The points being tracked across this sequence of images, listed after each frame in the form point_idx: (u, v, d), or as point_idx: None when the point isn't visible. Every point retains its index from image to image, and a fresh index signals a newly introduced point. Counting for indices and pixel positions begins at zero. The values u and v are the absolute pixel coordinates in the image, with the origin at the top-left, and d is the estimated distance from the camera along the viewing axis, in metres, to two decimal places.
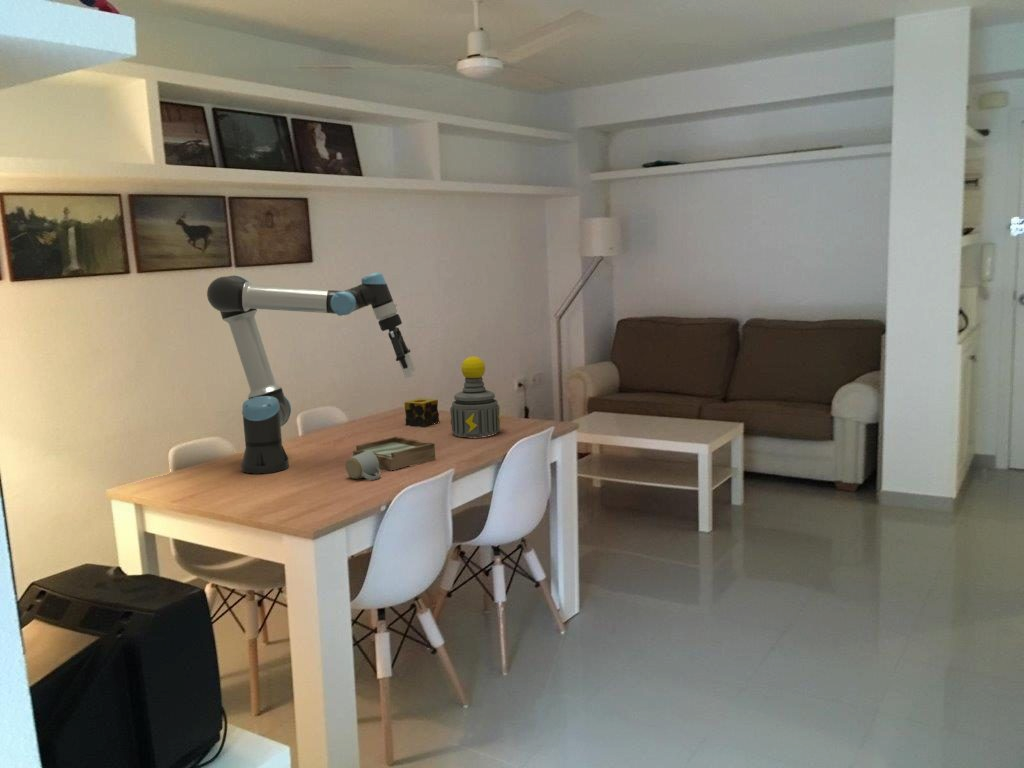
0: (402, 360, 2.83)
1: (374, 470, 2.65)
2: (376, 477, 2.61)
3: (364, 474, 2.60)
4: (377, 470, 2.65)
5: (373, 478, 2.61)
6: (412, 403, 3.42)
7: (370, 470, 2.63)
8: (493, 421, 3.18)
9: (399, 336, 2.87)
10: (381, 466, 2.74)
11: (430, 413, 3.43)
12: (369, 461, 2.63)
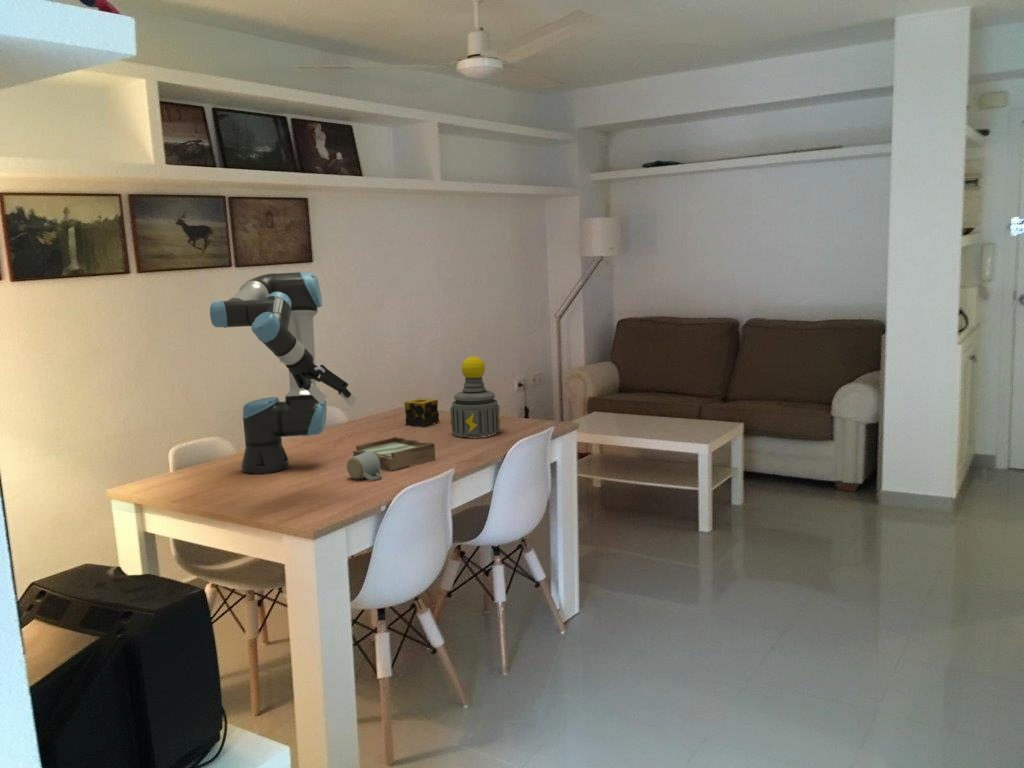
0: None
1: (375, 470, 2.64)
2: (377, 477, 2.61)
3: (366, 474, 2.60)
4: (378, 470, 2.64)
5: (375, 478, 2.60)
6: (412, 403, 3.42)
7: (371, 470, 2.63)
8: (493, 421, 3.18)
9: (301, 376, 2.47)
10: (381, 466, 2.74)
11: (430, 413, 3.43)
12: (370, 461, 2.63)
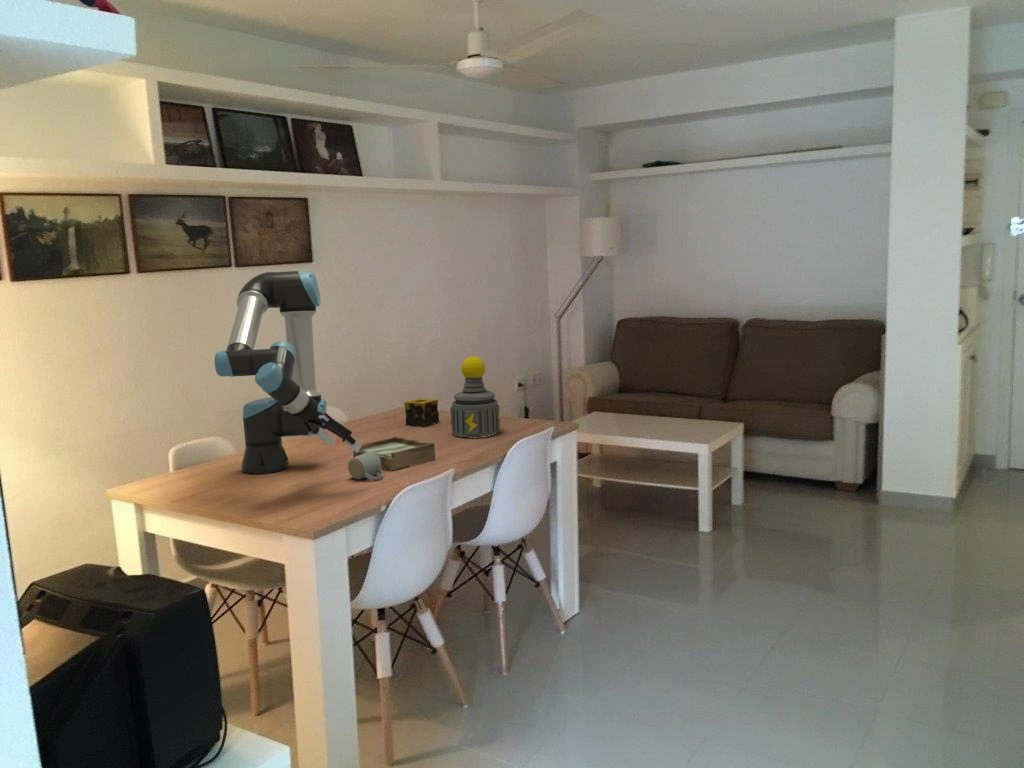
0: None
1: (376, 471, 2.64)
2: (379, 478, 2.60)
3: (367, 474, 2.60)
4: (379, 471, 2.64)
5: (376, 478, 2.60)
6: (412, 403, 3.42)
7: (372, 471, 2.63)
8: (493, 421, 3.18)
9: None
10: (381, 466, 2.74)
11: (430, 413, 3.43)
12: (371, 461, 2.62)
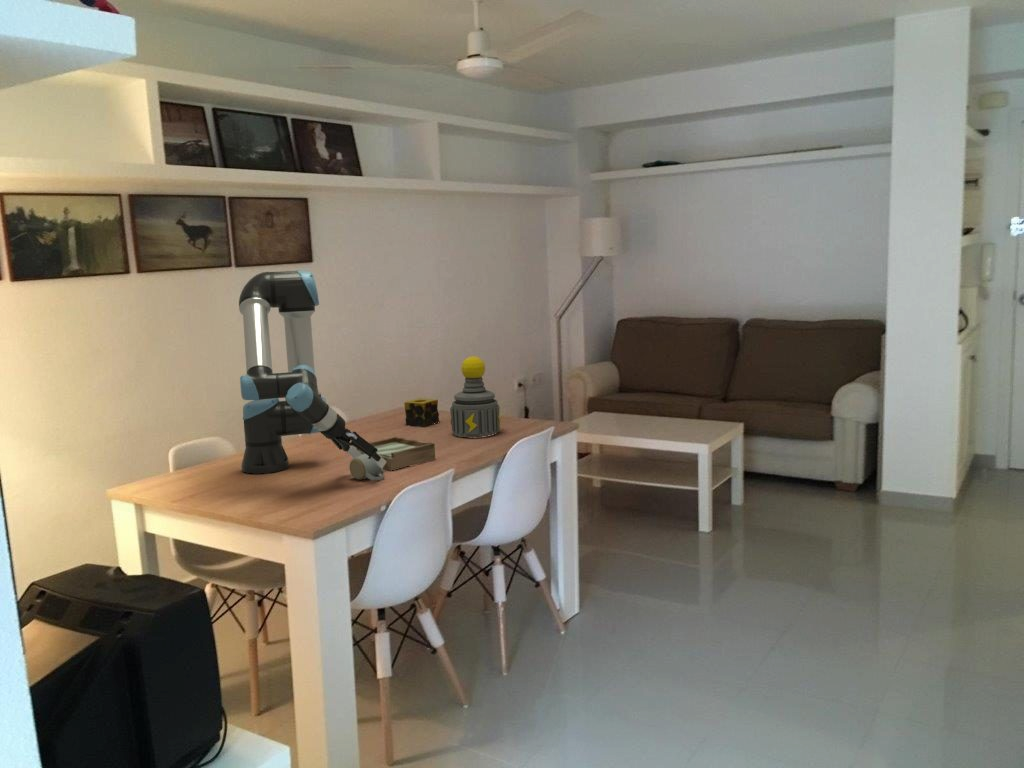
0: None
1: (378, 471, 2.64)
2: (380, 478, 2.60)
3: (368, 474, 2.59)
4: (381, 471, 2.64)
5: (377, 479, 2.60)
6: (412, 403, 3.42)
7: (374, 471, 2.62)
8: (493, 421, 3.18)
9: (336, 439, 2.59)
10: None
11: (430, 413, 3.43)
12: (373, 462, 2.62)
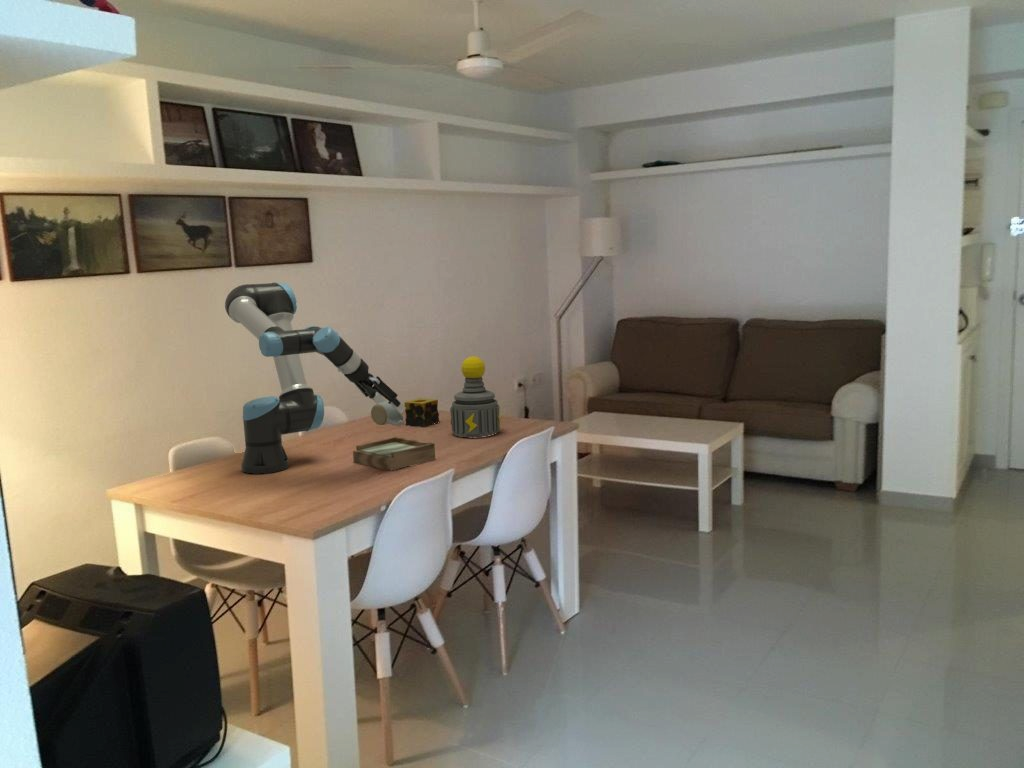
0: None
1: (398, 417, 2.76)
2: (400, 423, 2.72)
3: (389, 420, 2.71)
4: (401, 417, 2.76)
5: (398, 424, 2.72)
6: (412, 403, 3.42)
7: (394, 417, 2.74)
8: (493, 421, 3.18)
9: (360, 384, 2.71)
10: (381, 466, 2.74)
11: (430, 413, 3.43)
12: (393, 408, 2.74)
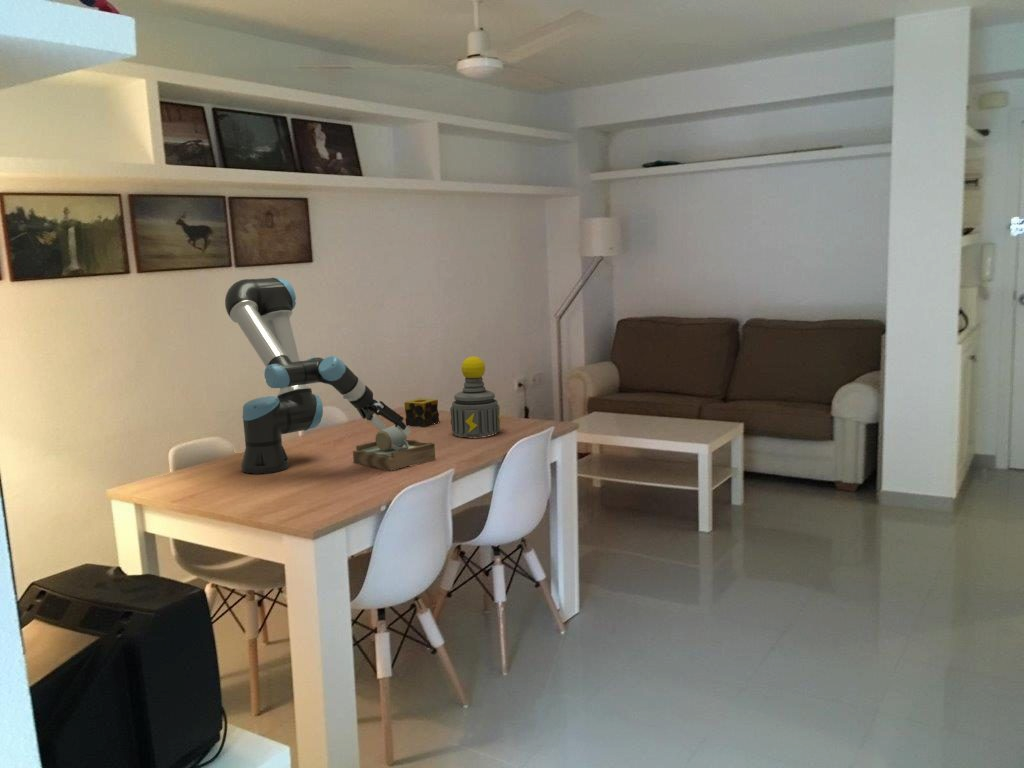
0: None
1: (402, 443, 2.82)
2: None
3: (394, 446, 2.78)
4: (405, 443, 2.82)
5: (402, 449, 2.78)
6: (412, 403, 3.42)
7: (398, 442, 2.81)
8: (493, 421, 3.18)
9: (363, 409, 2.77)
10: (381, 466, 2.74)
11: (430, 413, 3.43)
12: (398, 434, 2.81)
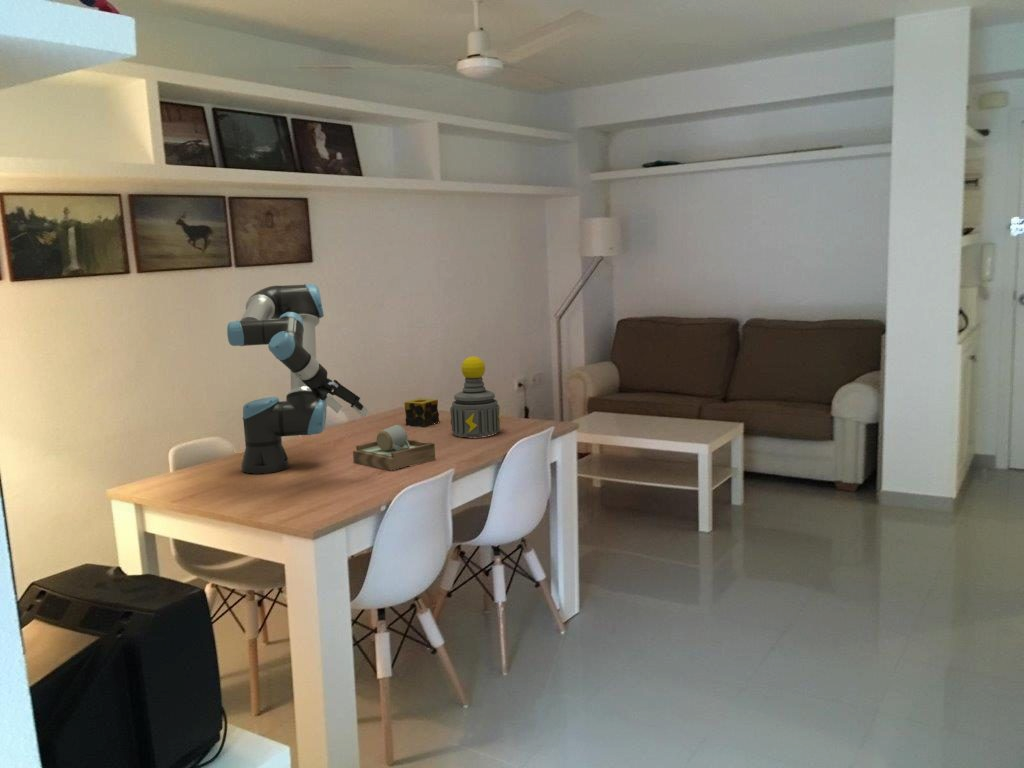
0: None
1: (403, 443, 2.82)
2: None
3: (395, 446, 2.78)
4: (406, 443, 2.82)
5: None
6: (412, 403, 3.42)
7: (400, 443, 2.81)
8: (493, 421, 3.18)
9: (317, 389, 2.62)
10: (381, 466, 2.74)
11: (430, 413, 3.43)
12: (399, 434, 2.80)
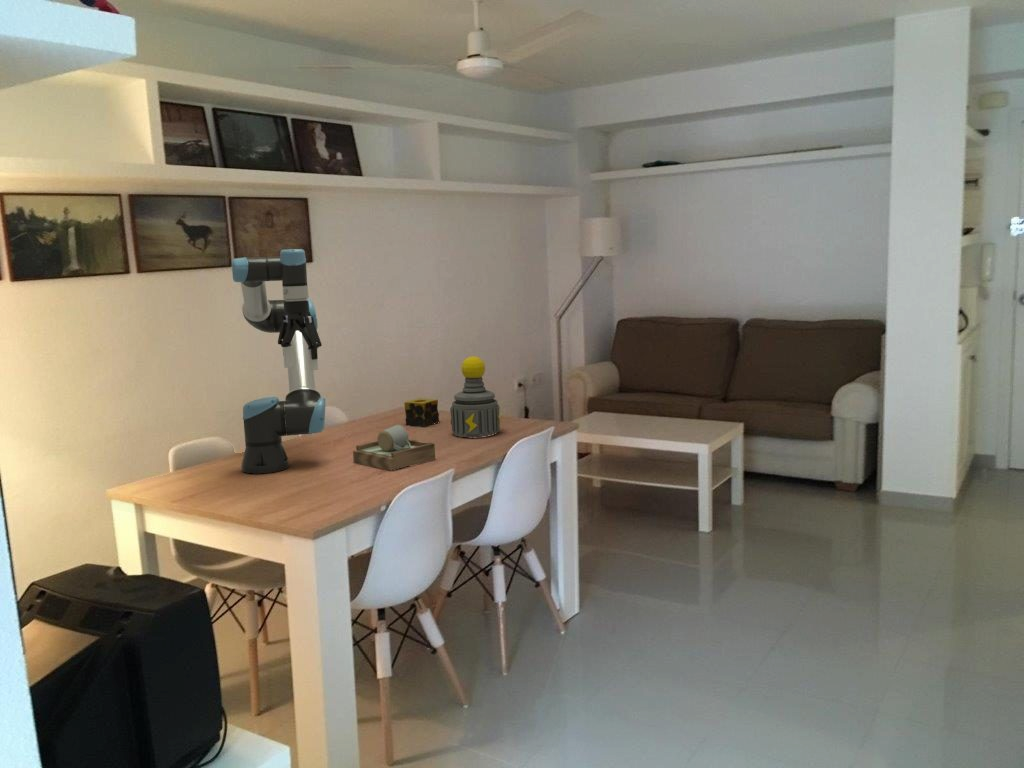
0: None
1: (404, 443, 2.82)
2: None
3: (396, 446, 2.78)
4: (407, 443, 2.82)
5: None
6: (412, 403, 3.42)
7: (400, 443, 2.81)
8: (493, 421, 3.18)
9: (288, 324, 2.61)
10: (381, 466, 2.74)
11: (430, 413, 3.43)
12: (400, 434, 2.80)
